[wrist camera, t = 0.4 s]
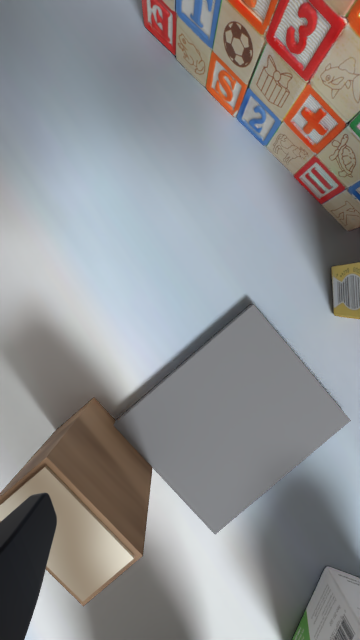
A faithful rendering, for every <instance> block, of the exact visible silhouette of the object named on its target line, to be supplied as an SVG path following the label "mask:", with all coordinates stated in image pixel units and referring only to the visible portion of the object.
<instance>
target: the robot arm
mask: <svg viewBox="0 0 360 640" xmlns="http://www.w3.org/2000/svg"><path fill="white" fill-rule="evenodd" d="M56 526H57V516H56V513H55V510H54V507H53V504H52V501H51V498H50V496H49V494H48V493H39V494H34V495H31V496H30V497H28V498H27V499H26V500H25V501H24V502H23V503H22V504H20V505H19V506H18V507H17V508H16V509H15V510H14V511H12V512H11V513H10V514H9V515H8V516H7V517H6V518H4V519H3V520H2V521H1V522H0V640H24V639H25V636H26V633H27V630H28V627H29V624H30V621H31V618H32V615H33V612H34V609H35V606H36V603H37V600H38V596H39V593H40V589H41V585H42V581H43V577H44V573H45V570H46V566H47V562H48V558H49V554H50V550H51V546H52V542H53V538H54V534H55V530H56Z"/></svg>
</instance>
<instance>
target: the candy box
mask: <svg viewBox="0 0 360 640" xmlns="http://www.w3.org/2000/svg"><path fill="white" fill-rule="evenodd" d="M331 274H332V290H333V305H334V315H335V316H339V317H347V318H355V319H360V262H357V263H351V264H345V265H337V266H332V268H331Z"/></svg>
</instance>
